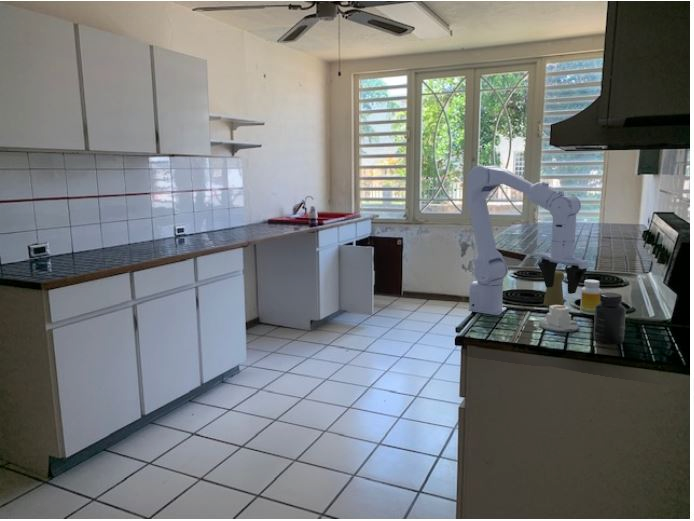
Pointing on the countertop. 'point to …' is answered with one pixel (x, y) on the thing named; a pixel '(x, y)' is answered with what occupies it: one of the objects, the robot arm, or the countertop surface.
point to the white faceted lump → (558, 315)
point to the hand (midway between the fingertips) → (560, 290)
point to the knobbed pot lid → (554, 328)
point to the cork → (555, 291)
